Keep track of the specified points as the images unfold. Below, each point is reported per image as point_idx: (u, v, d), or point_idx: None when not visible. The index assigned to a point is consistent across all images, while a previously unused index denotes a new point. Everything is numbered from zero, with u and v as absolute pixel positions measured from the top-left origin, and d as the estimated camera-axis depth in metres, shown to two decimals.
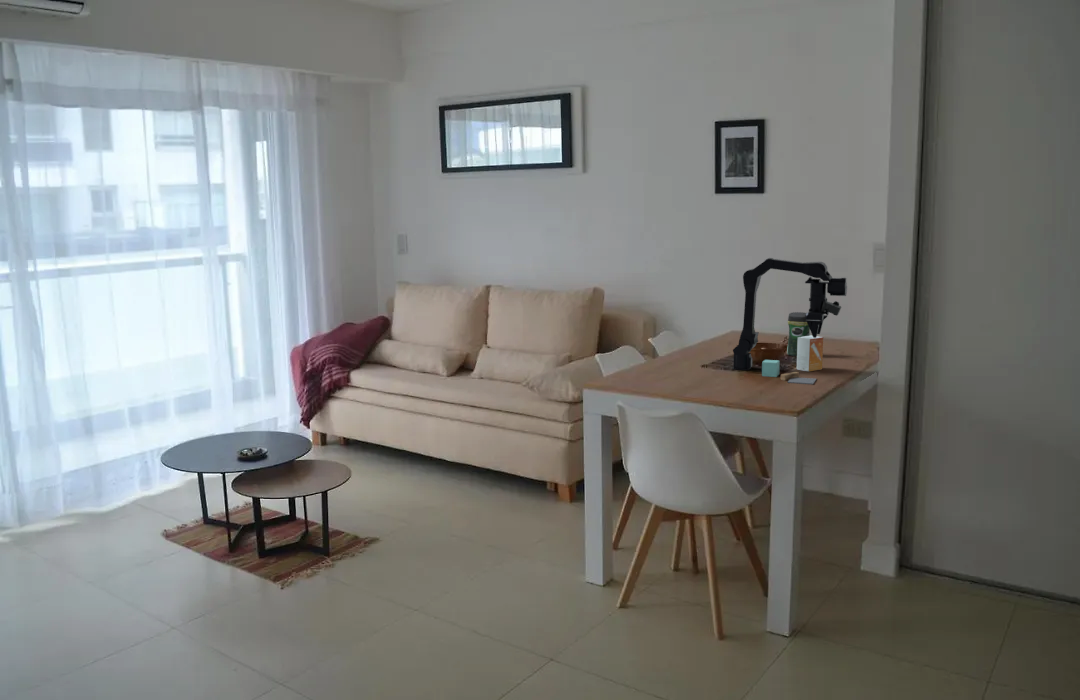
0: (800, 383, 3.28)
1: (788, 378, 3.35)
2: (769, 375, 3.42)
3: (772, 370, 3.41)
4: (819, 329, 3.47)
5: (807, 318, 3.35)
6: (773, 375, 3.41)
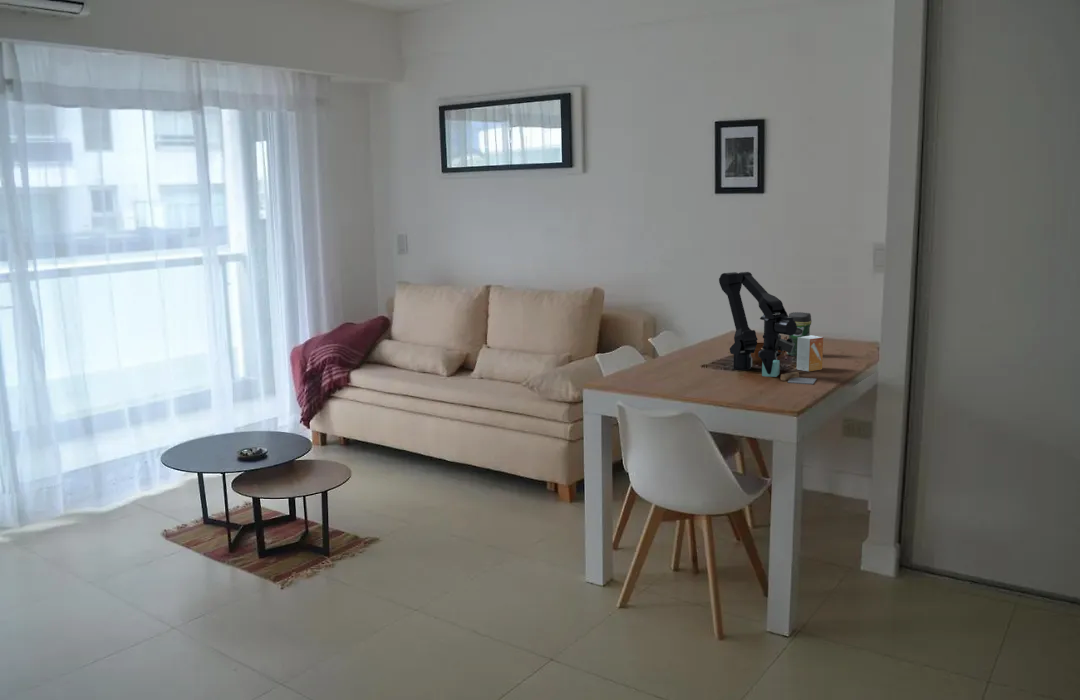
0: (800, 383, 3.28)
1: (788, 378, 3.35)
2: (769, 375, 3.42)
3: (772, 369, 3.41)
4: None
5: (760, 356, 3.36)
6: (773, 375, 3.41)
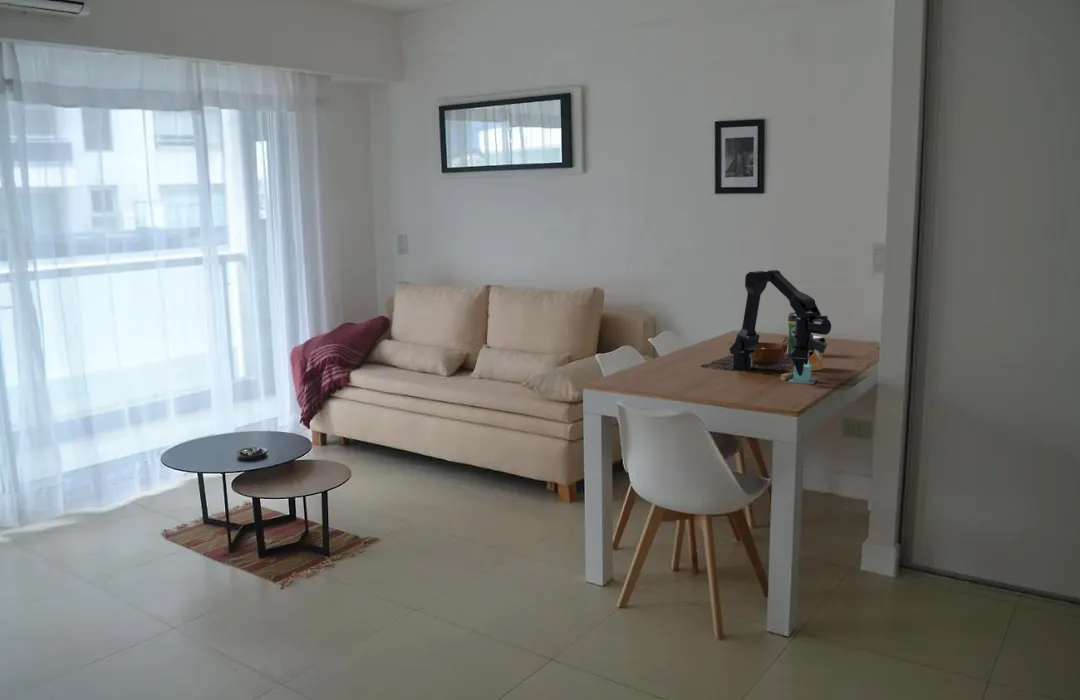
0: (800, 383, 3.28)
1: (788, 378, 3.35)
2: (801, 380, 3.30)
3: (804, 374, 3.29)
4: None
5: (792, 356, 3.23)
6: (805, 380, 3.29)
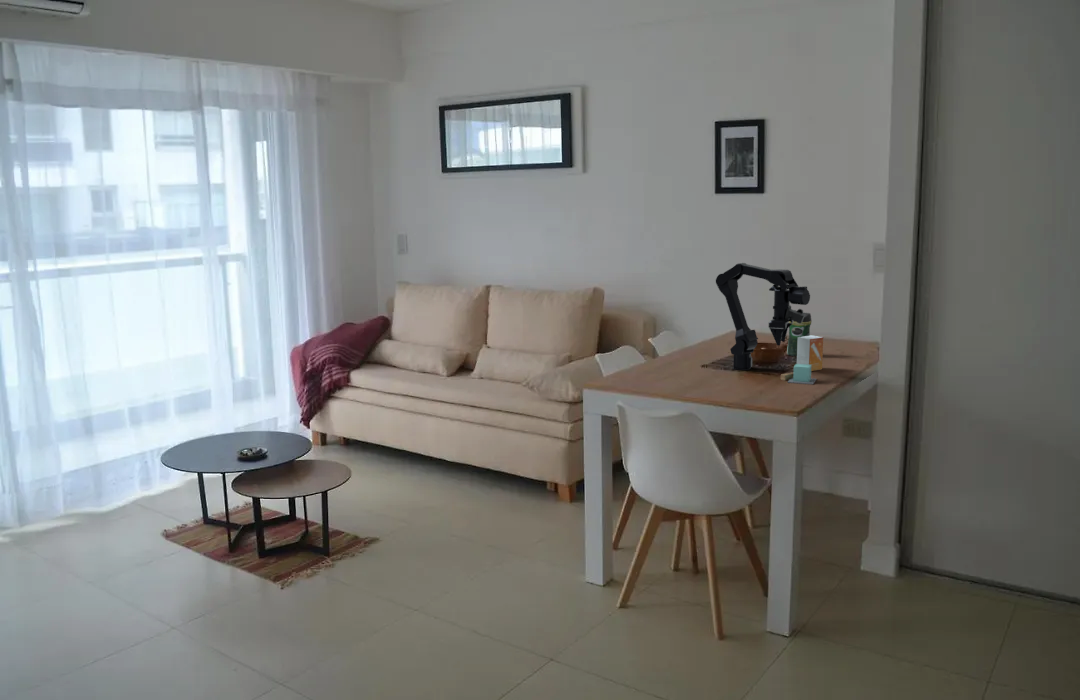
0: (800, 383, 3.28)
1: (788, 378, 3.35)
2: (801, 380, 3.30)
3: (804, 374, 3.29)
4: (784, 337, 3.47)
5: (770, 326, 3.35)
6: (805, 380, 3.29)
